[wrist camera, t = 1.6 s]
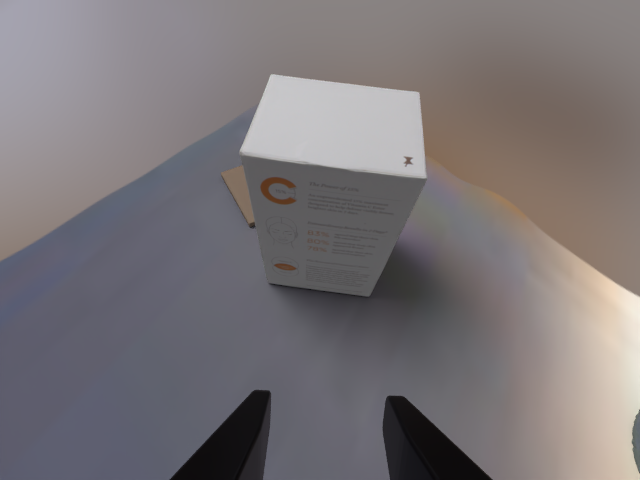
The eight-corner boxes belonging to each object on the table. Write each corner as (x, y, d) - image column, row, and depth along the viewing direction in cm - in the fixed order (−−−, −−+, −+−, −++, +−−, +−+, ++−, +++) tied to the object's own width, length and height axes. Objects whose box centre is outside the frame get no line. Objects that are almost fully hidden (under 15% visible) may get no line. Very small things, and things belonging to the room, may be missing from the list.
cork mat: (370, 177, 30) (370, 173, 30) (249, 227, 27) (249, 223, 26) (334, 136, 33) (335, 132, 33) (221, 176, 29) (220, 172, 29)
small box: (373, 230, 27) (424, 89, 16) (370, 299, 24) (432, 179, 13) (280, 217, 27) (268, 69, 16) (265, 284, 24) (236, 154, 13)
